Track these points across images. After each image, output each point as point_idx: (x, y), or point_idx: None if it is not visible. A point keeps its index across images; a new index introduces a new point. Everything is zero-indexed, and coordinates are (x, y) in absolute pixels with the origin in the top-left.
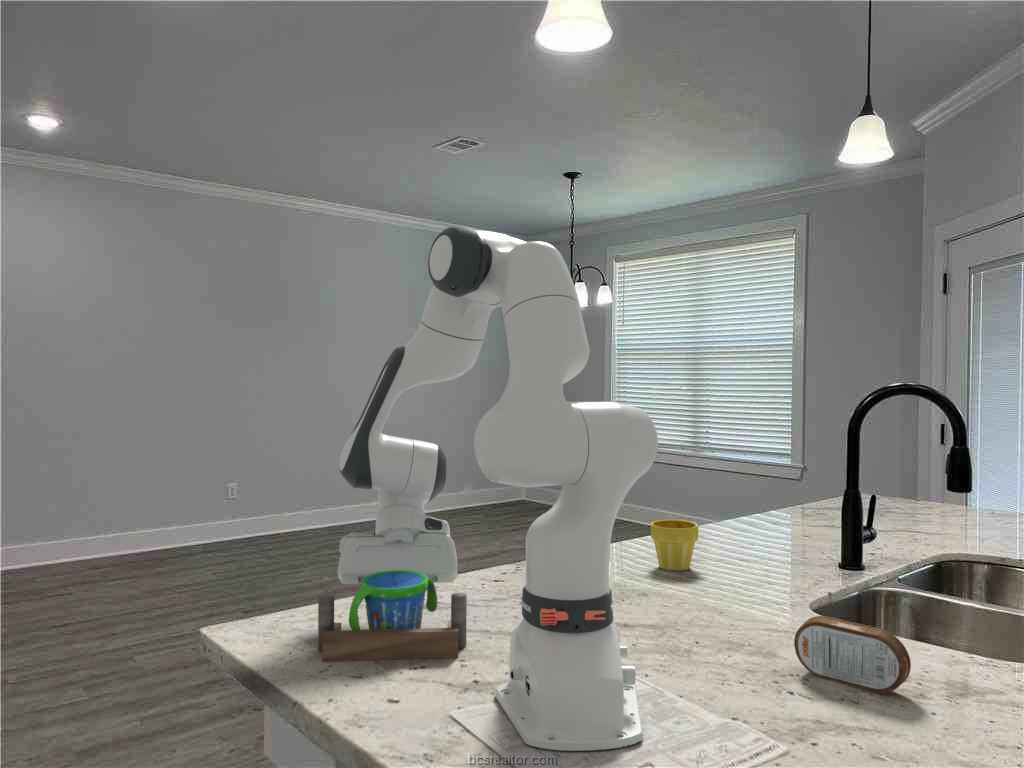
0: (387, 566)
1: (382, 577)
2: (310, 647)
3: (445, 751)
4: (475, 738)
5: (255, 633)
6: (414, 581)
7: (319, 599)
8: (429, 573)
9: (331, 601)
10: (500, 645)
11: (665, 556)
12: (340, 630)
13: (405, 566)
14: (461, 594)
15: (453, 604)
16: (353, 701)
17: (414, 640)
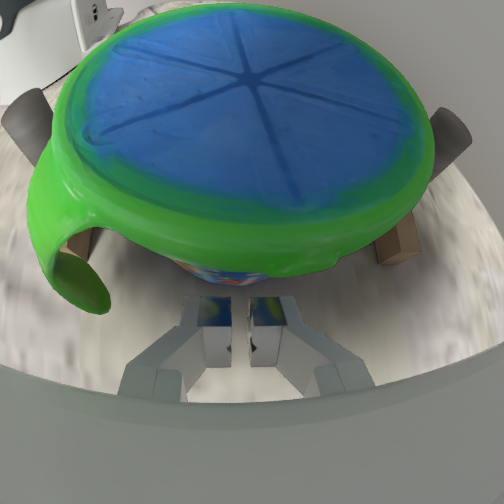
0: (372, 443)
1: (351, 147)
2: (415, 214)
3: (184, 4)
4: (156, 12)
5: (500, 299)
6: (137, 75)
7: (459, 119)
8: (16, 371)
9: (434, 114)
10: (16, 195)
11: None
12: (389, 238)
13: (179, 459)
14: (13, 110)
15: (49, 106)
16: None
17: None
